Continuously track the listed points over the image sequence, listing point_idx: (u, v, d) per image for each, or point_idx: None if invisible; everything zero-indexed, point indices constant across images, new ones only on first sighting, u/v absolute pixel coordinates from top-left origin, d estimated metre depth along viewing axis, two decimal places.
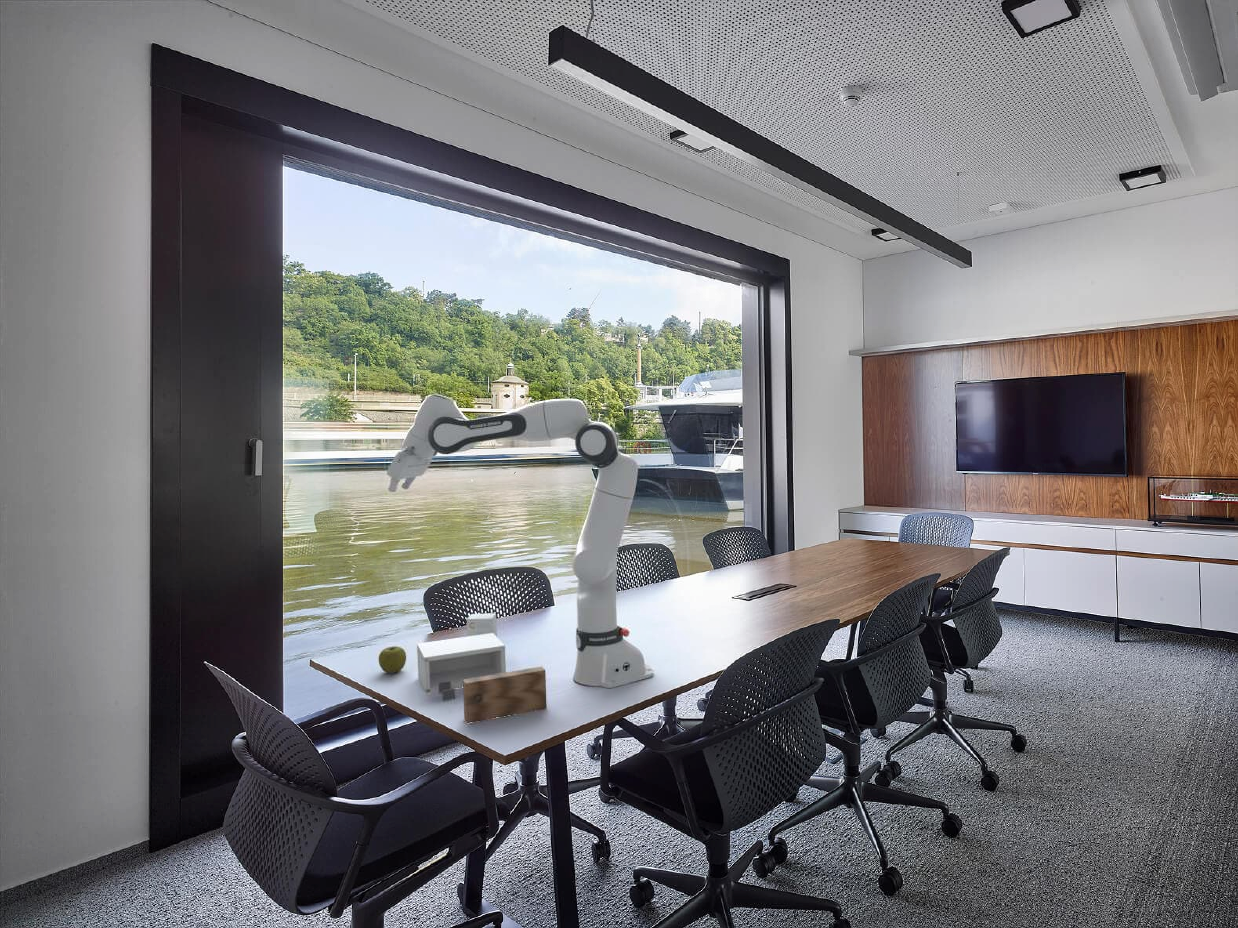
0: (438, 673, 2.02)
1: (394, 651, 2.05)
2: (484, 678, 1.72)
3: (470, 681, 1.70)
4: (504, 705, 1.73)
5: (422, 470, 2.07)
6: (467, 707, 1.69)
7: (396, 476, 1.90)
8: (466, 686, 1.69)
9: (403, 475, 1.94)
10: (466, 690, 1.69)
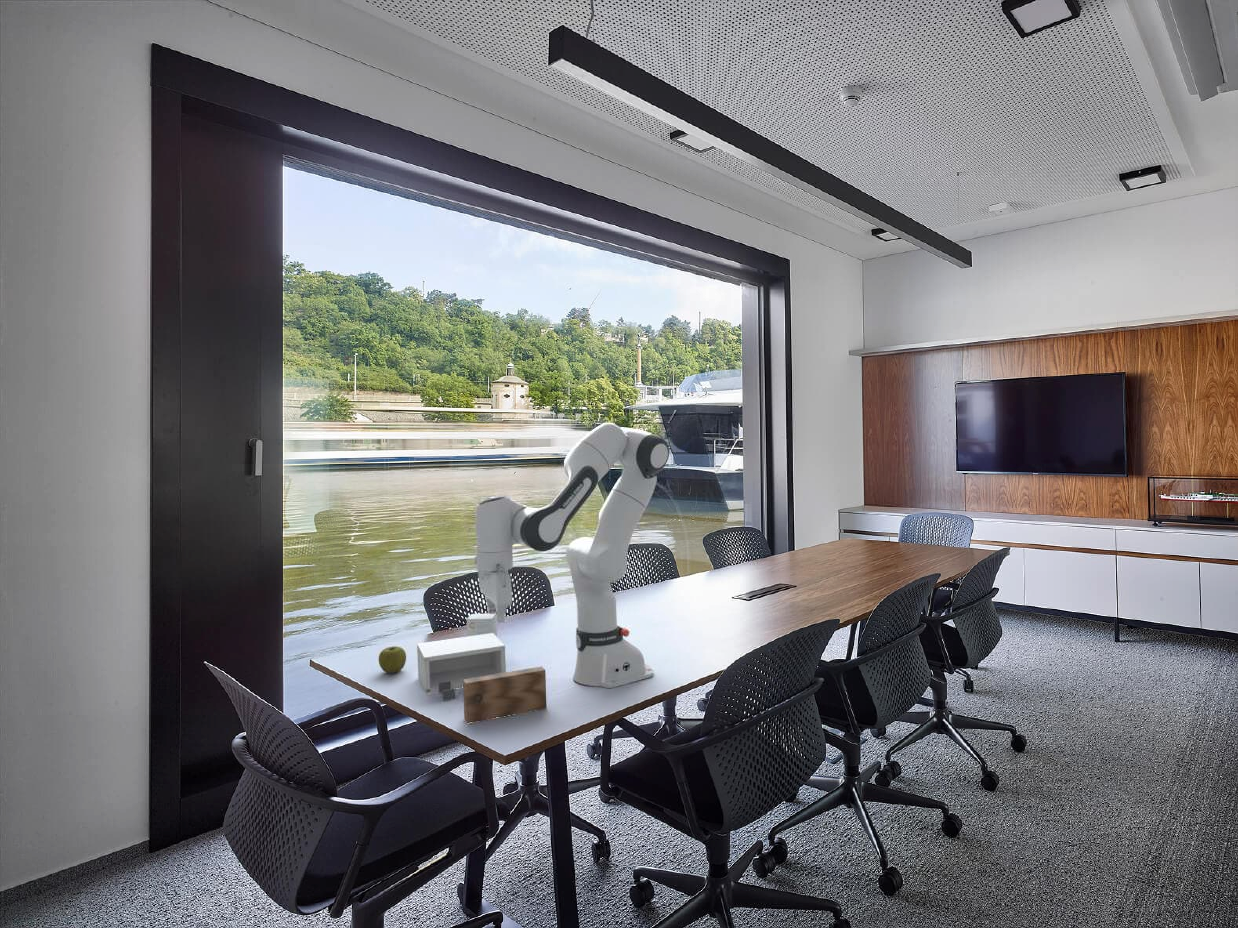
0: (438, 673, 2.02)
1: (394, 651, 2.05)
2: (484, 678, 1.72)
3: (470, 681, 1.70)
4: (504, 705, 1.73)
5: None
6: (467, 707, 1.69)
7: (510, 602, 1.64)
8: (466, 686, 1.69)
9: None
10: (466, 690, 1.69)
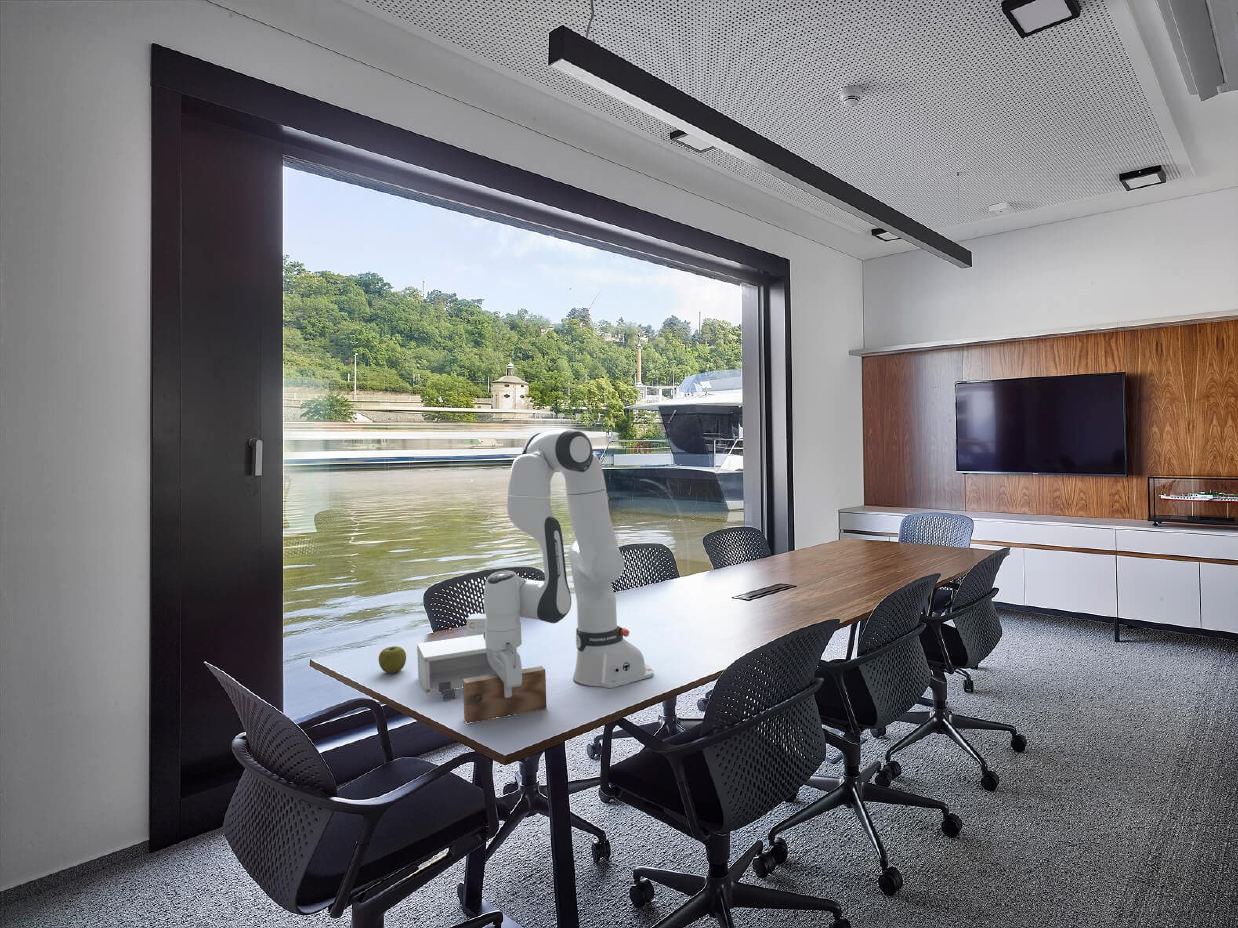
0: (438, 673, 2.02)
1: (394, 651, 2.05)
2: (484, 678, 1.72)
3: (470, 681, 1.70)
4: (504, 704, 1.73)
5: None
6: (467, 707, 1.69)
7: (520, 682, 1.65)
8: (466, 686, 1.69)
9: None
10: (466, 690, 1.69)
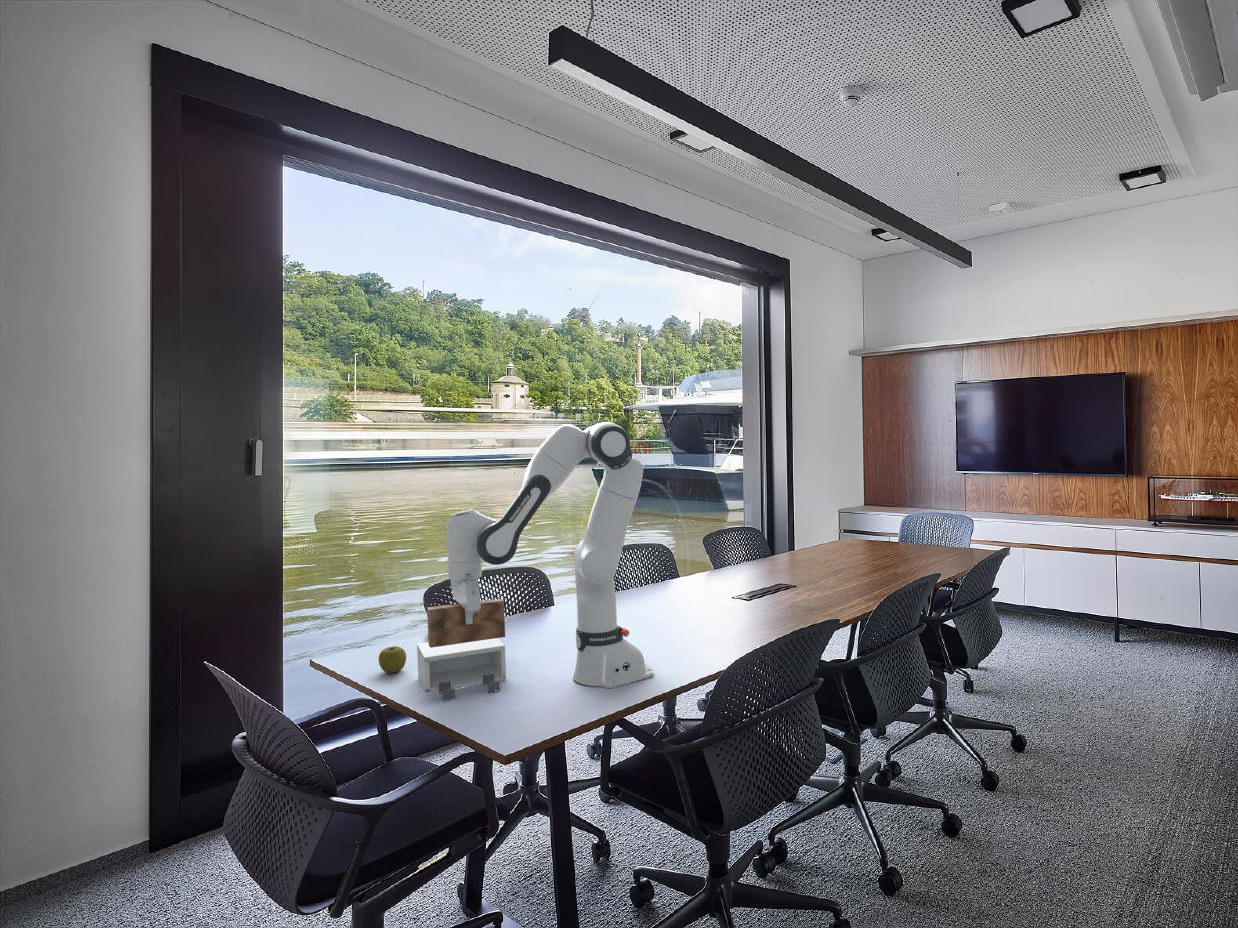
0: (438, 673, 2.02)
1: (394, 651, 2.05)
2: (446, 606, 1.87)
3: (433, 608, 1.85)
4: (465, 631, 1.88)
5: None
6: (430, 632, 1.84)
7: (479, 608, 1.81)
8: (429, 612, 1.84)
9: None
10: (429, 616, 1.84)
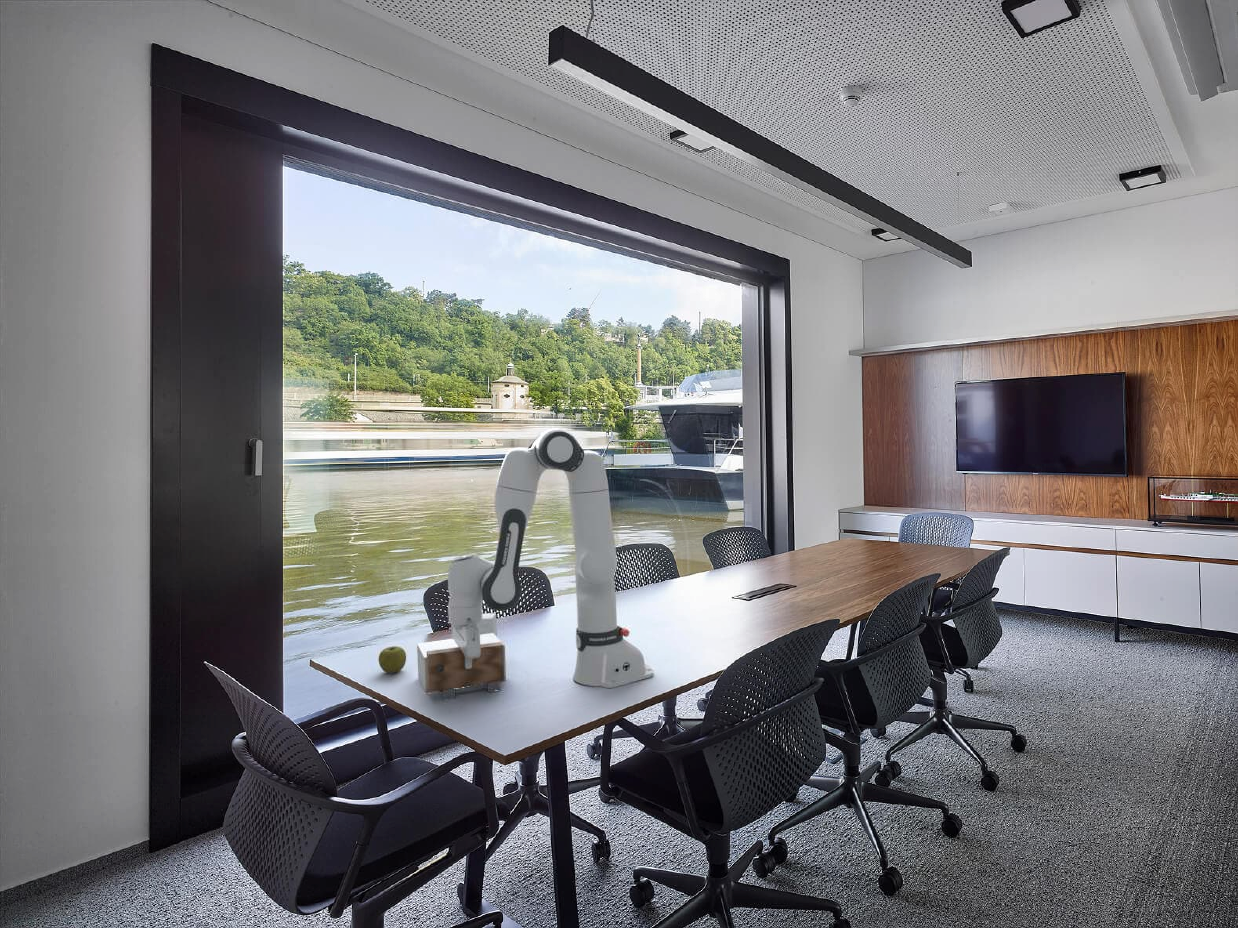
0: None
1: (394, 651, 2.05)
2: (446, 650, 1.87)
3: (433, 652, 1.85)
4: (464, 675, 1.88)
5: None
6: (430, 676, 1.85)
7: (479, 654, 1.81)
8: (429, 657, 1.84)
9: None
10: (429, 660, 1.84)
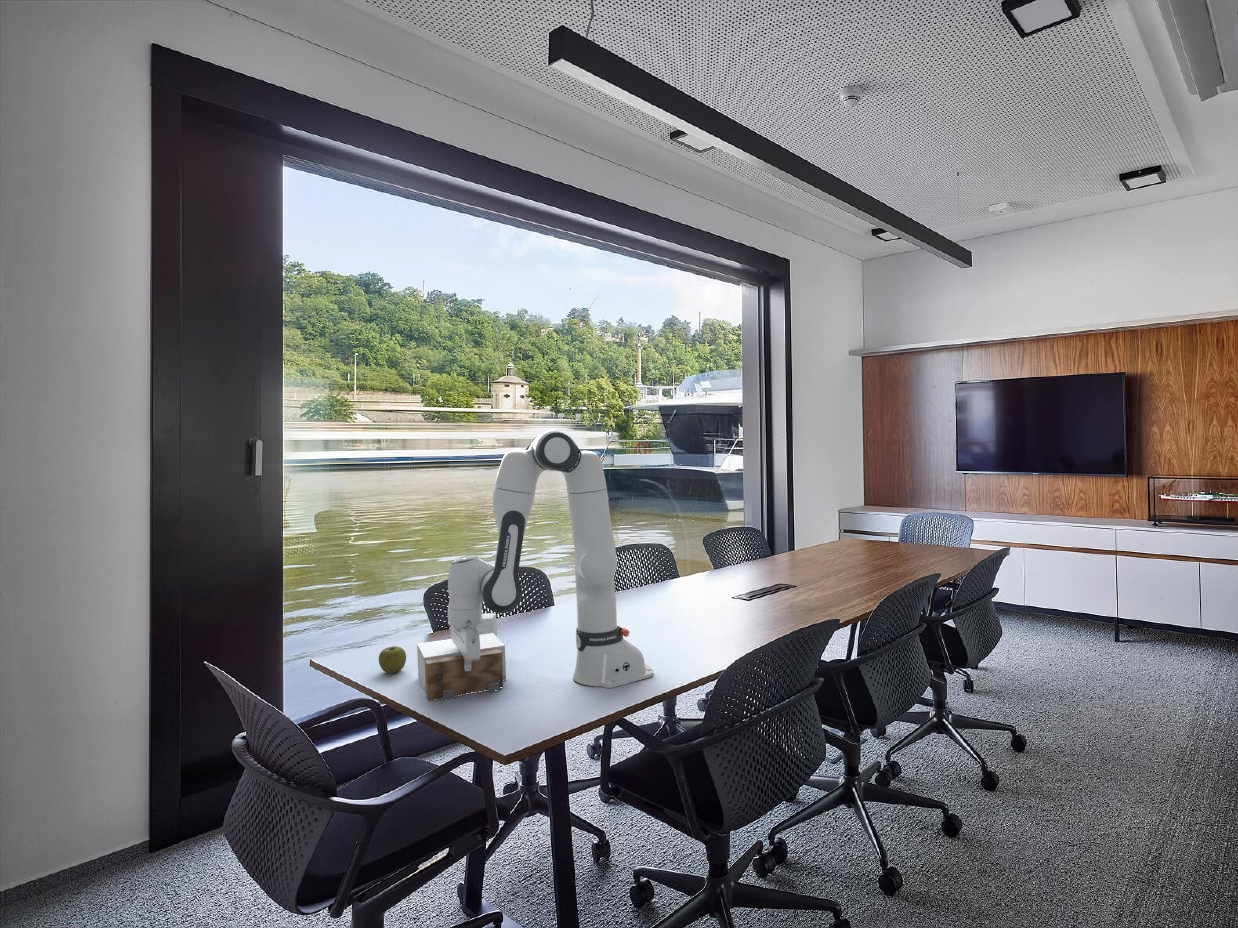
0: None
1: (394, 651, 2.05)
2: (445, 659, 1.87)
3: (431, 662, 1.85)
4: (463, 684, 1.88)
5: None
6: (428, 686, 1.84)
7: (478, 657, 1.81)
8: (427, 666, 1.84)
9: None
10: (427, 670, 1.84)
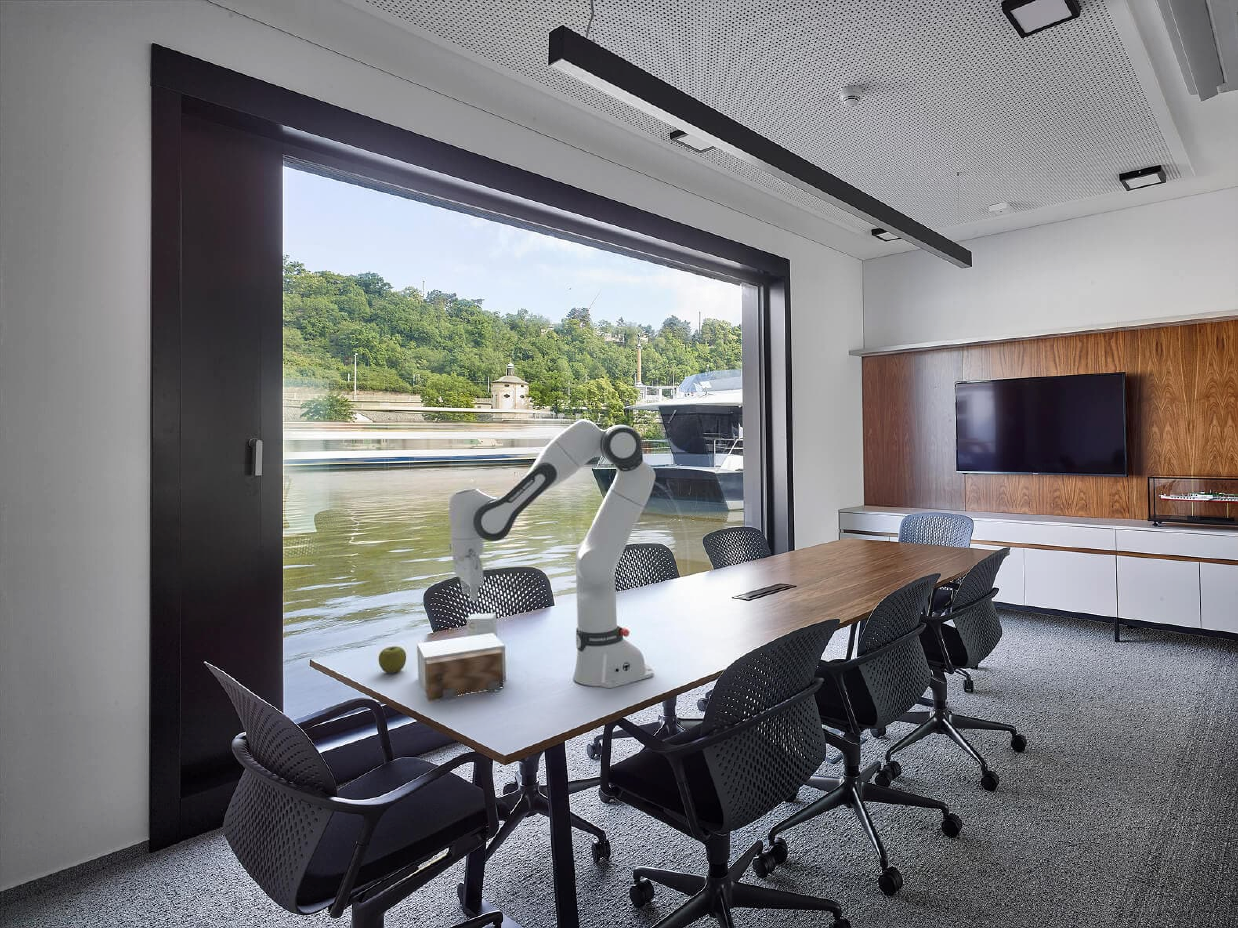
0: None
1: (394, 651, 2.05)
2: (445, 659, 1.87)
3: (431, 662, 1.85)
4: (463, 684, 1.88)
5: None
6: (429, 686, 1.84)
7: (482, 582, 1.87)
8: (428, 666, 1.84)
9: None
10: (428, 670, 1.84)
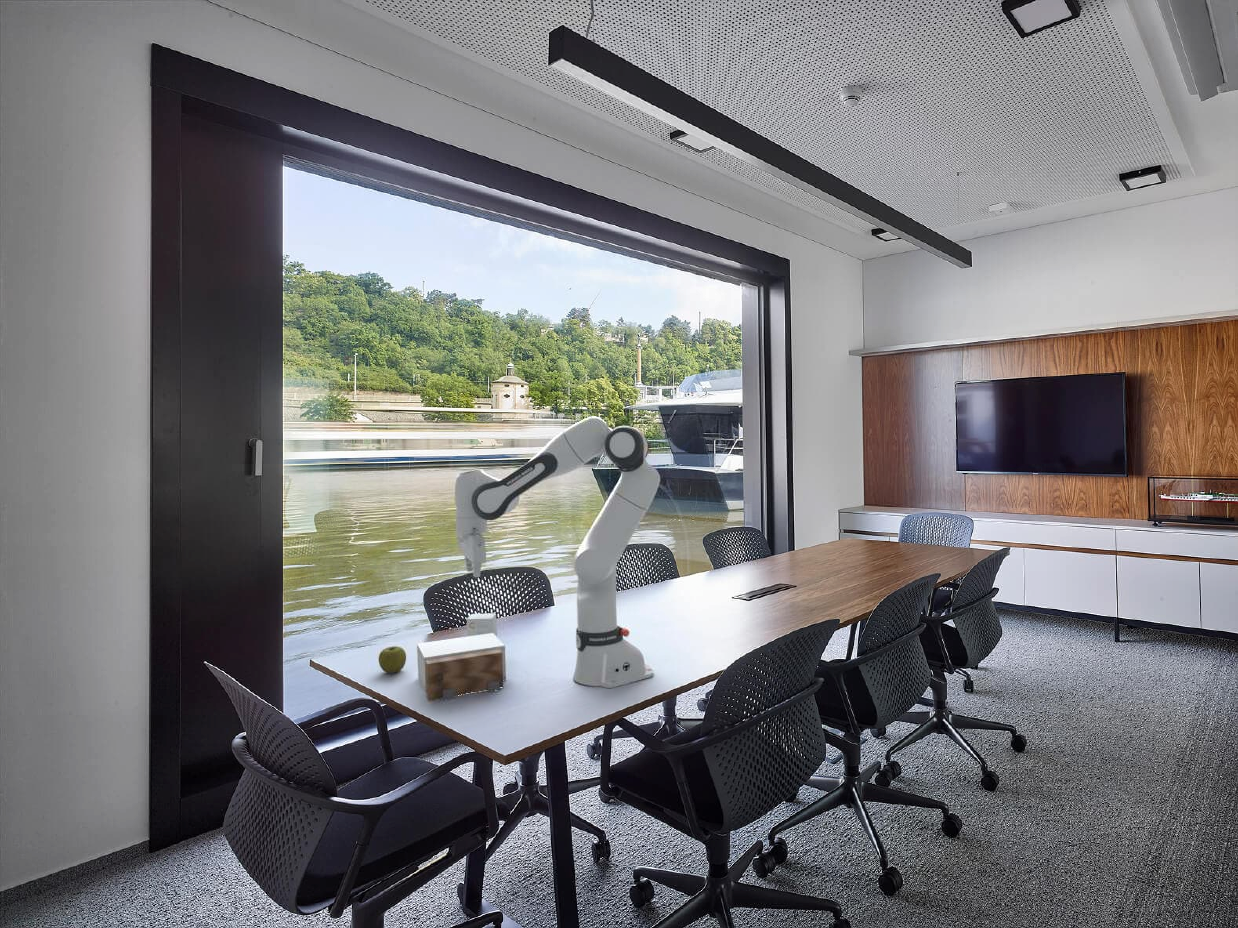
0: None
1: (394, 651, 2.05)
2: (445, 659, 1.87)
3: (431, 662, 1.85)
4: (463, 684, 1.88)
5: None
6: (429, 686, 1.84)
7: (484, 559, 1.94)
8: (428, 666, 1.84)
9: None
10: (428, 670, 1.84)
